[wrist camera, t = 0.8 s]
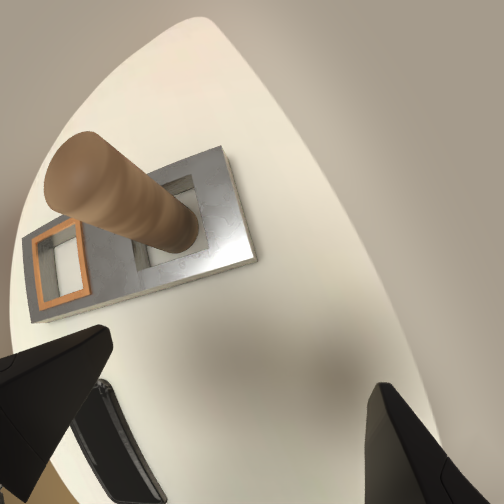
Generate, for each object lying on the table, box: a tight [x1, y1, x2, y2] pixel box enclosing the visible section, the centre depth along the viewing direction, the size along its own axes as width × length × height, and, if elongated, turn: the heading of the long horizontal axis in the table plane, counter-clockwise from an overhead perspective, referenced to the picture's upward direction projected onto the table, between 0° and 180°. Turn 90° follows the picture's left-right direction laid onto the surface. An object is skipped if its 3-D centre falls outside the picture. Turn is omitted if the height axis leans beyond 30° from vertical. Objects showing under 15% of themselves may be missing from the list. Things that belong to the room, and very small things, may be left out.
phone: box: [70, 379, 167, 504], centre depth 22 cm, size 8×1×15 cm
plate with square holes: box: [22, 146, 258, 323], centre depth 23 cm, size 23×9×3 cm, turn 106°
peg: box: [44, 131, 198, 253], centre depth 17 cm, size 4×4×13 cm
